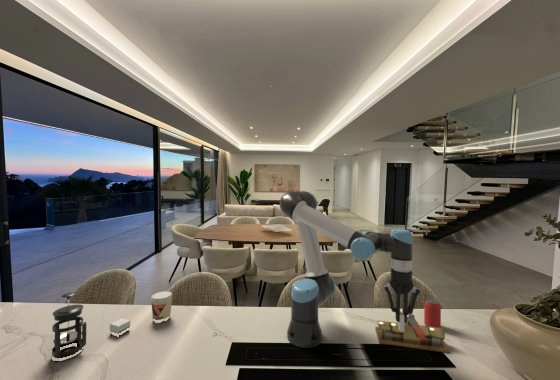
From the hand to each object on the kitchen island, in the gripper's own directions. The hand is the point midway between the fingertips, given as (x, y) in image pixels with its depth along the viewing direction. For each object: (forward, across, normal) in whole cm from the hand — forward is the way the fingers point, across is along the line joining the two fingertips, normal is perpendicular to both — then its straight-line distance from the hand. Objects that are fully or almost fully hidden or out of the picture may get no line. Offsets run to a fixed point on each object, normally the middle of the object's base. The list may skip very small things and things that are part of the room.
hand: (401, 330), depth 95 cm
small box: (+10, -118, -14) cm, 119 cm away
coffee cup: (+10, -108, 0) cm, 109 cm away
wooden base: (+10, +6, +11) cm, 15 cm away
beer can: (+10, +20, +26) cm, 34 cm away
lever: (0, +6, +4) cm, 7 cm away
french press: (+9, -125, -30) cm, 129 cm away
